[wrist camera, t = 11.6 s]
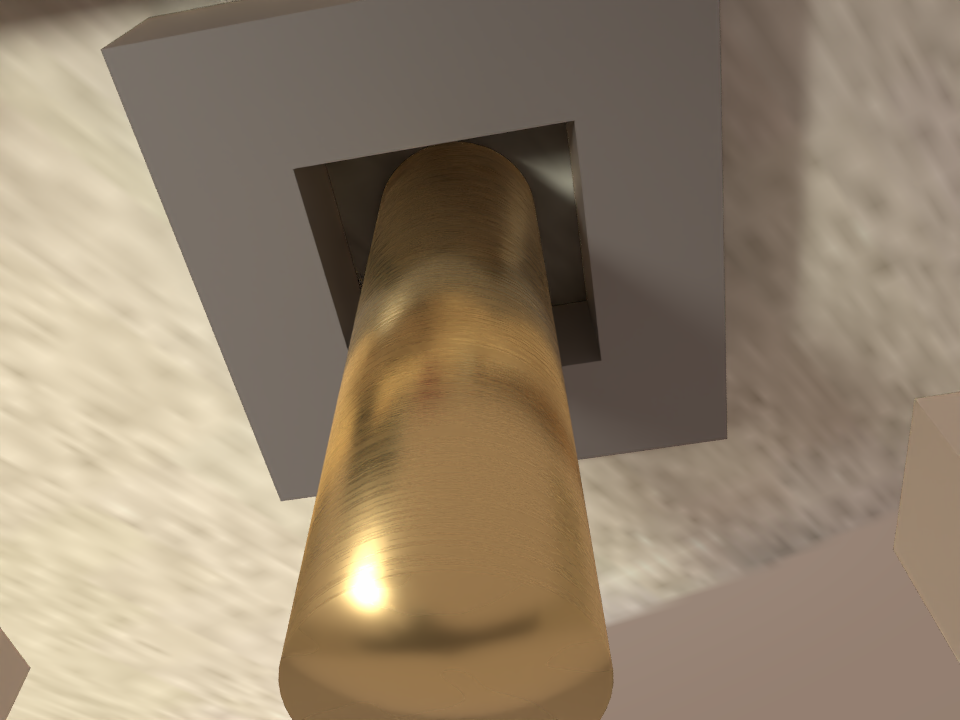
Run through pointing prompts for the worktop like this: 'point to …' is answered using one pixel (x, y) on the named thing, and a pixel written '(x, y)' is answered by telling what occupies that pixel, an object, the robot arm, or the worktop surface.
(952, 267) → the worktop surface
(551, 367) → the lock pin
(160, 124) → the plate
